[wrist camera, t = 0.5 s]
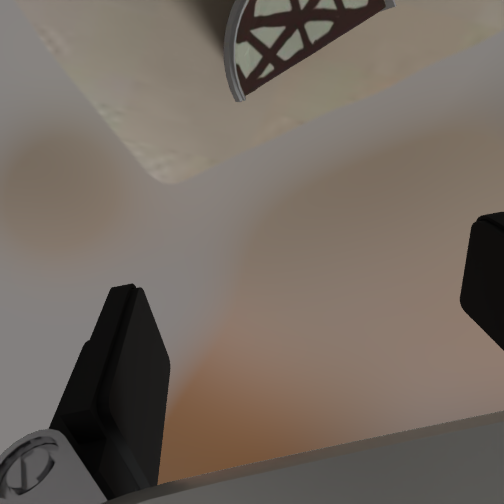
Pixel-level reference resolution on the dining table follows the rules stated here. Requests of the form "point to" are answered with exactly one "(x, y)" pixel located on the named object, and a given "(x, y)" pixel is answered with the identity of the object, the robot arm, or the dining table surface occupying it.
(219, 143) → the dining table surface
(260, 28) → the food container
